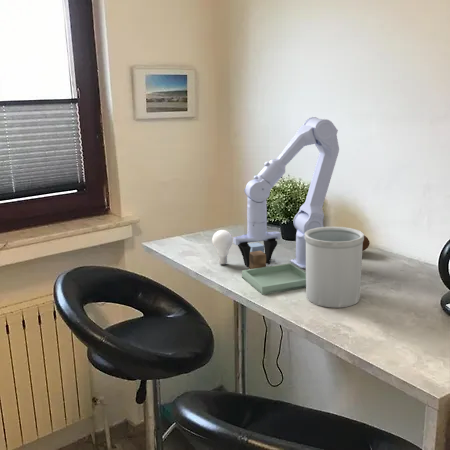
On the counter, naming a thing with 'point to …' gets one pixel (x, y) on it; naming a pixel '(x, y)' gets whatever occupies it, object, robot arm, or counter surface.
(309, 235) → the utensil holder
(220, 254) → the lightbulb
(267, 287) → the tray
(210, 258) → the counter surface
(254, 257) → the walnut block
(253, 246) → the bluegrey block
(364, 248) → the potato
